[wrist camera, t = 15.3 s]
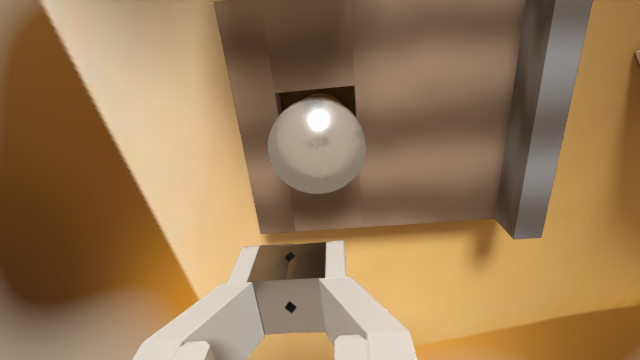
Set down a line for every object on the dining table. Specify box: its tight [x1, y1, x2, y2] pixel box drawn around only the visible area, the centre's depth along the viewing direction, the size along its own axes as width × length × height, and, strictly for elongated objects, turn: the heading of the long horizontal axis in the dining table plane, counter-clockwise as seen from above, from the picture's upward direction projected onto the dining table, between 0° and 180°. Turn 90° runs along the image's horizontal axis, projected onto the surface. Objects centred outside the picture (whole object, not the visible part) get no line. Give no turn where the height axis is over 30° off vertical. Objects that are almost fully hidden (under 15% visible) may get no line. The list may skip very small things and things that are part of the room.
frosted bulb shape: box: [268, 93, 366, 194], centre depth 23 cm, size 6×6×8 cm
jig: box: [214, 0, 593, 239], centre depth 24 cm, size 18×22×6 cm
